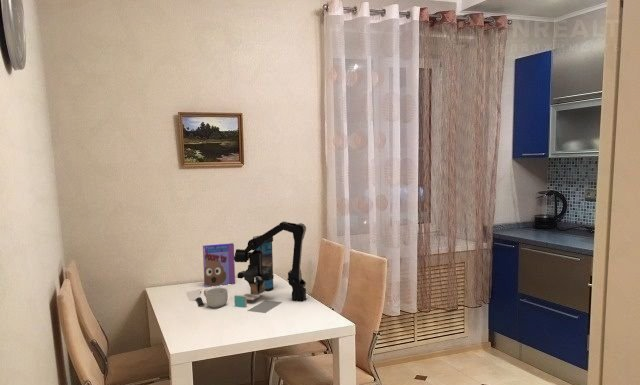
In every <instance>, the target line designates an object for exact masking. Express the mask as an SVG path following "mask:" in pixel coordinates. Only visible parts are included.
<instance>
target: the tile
mask: <svg viewBox="0 0 640 385" xmlns="http://www.w3.org/2000/svg"><path fill="white" fill-rule="evenodd" d="M243 295H244V294H243ZM243 295H241V294H235V295H234V307H237V308H247V307H248V302H247V301H248V300H247V296H243Z"/></svg>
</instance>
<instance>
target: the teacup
mask: <svg viewBox="0 0 640 385" xmlns="http://www.w3.org/2000/svg"><path fill="white" fill-rule="evenodd" d="M203 296H204V297H205V301H206V304H207V305H208V306H209V307H210V308H212V309H215V308H216V309H218V308H221V307H224V306H225V305H226V304H227V303H228V299H229V297H228V288H226V287H211V288H206V289H205V290H204V291H203Z"/></svg>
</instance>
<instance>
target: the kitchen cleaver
mask: <svg viewBox="0 0 640 385" xmlns="http://www.w3.org/2000/svg"><path fill="white" fill-rule="evenodd" d="M185 292H186V293H185V294H186V296H187V298H188V301H189V302H193V301H195V302H197V307H198V308H202V307H205V303H204V302H203V299H202V297H201V292H202V289H194V290H191V291H185Z"/></svg>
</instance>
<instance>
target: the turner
mask: <svg viewBox="0 0 640 385" xmlns="http://www.w3.org/2000/svg"><path fill="white" fill-rule="evenodd" d="M249 287H250V293H245V294H243V296H247V301H254V300H256V299H258V298H260V297H261V294H263V293H266V291H265V282H264V283H263V285H262V287H261V290H260V292H258V283H257V281H256V282H255V281H254V283H252V284H250V285H249Z"/></svg>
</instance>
